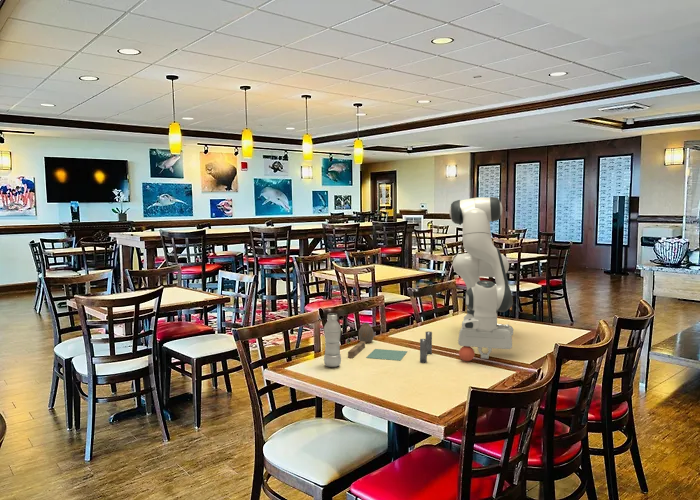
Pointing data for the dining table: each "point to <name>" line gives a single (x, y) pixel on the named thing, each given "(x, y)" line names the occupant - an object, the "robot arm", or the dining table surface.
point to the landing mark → (387, 354)
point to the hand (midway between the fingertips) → (484, 358)
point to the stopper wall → (356, 349)
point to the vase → (366, 333)
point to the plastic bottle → (332, 341)
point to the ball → (466, 353)
